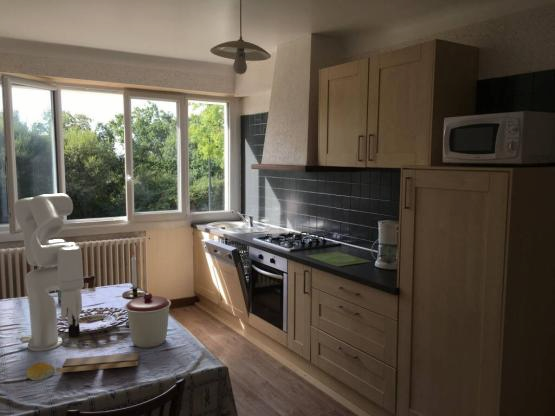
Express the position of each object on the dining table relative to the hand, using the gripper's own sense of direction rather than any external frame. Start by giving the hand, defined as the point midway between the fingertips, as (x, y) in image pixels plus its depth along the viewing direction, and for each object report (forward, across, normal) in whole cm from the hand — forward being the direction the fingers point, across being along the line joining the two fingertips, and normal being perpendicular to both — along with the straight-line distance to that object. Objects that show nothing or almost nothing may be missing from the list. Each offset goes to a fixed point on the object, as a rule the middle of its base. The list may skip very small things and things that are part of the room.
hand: (74, 336), depth 157 cm
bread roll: (+17, -8, -14) cm, 23 cm away
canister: (+17, -28, +22) cm, 40 cm away
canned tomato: (+16, -90, -23) cm, 95 cm away
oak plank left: (+14, -4, 0) cm, 15 cm away
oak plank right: (+14, -4, +13) cm, 20 cm away
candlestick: (+16, -50, +15) cm, 55 cm away
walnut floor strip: (+16, -12, +6) cm, 22 cm away
